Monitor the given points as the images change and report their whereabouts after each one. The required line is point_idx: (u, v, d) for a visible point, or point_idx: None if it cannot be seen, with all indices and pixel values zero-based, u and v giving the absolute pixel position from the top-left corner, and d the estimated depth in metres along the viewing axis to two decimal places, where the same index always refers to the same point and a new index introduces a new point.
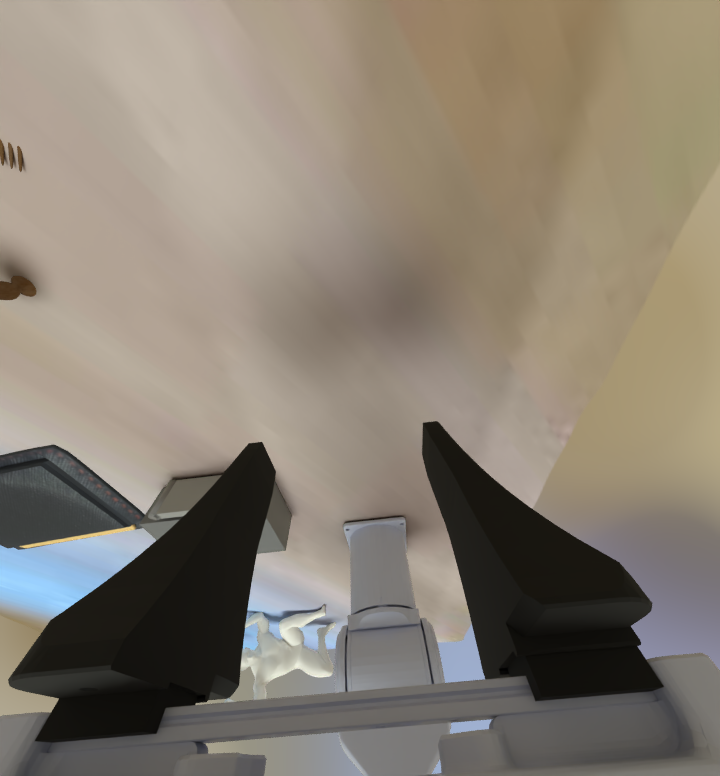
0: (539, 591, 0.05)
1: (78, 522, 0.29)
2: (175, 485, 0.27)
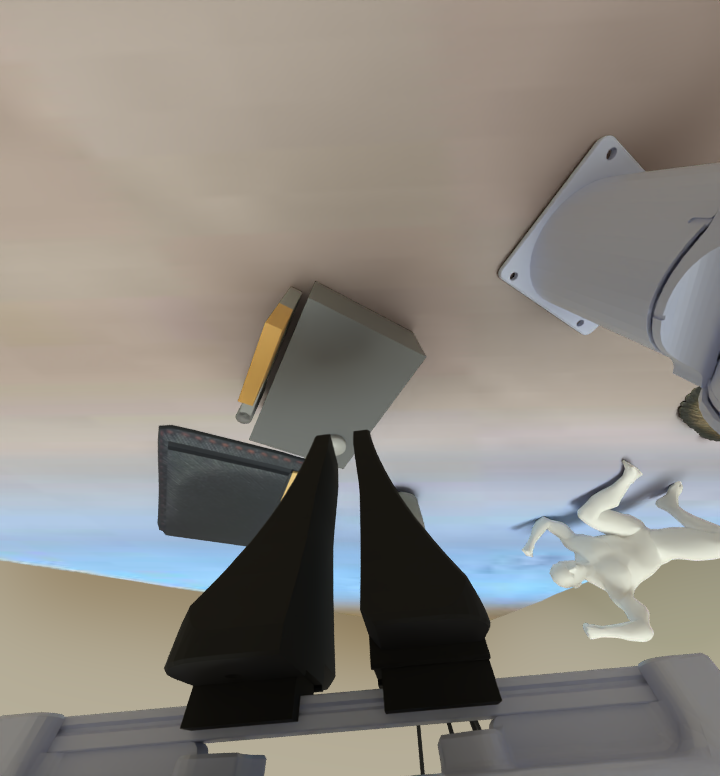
0: (376, 607, 0.05)
1: (255, 492, 0.28)
2: None
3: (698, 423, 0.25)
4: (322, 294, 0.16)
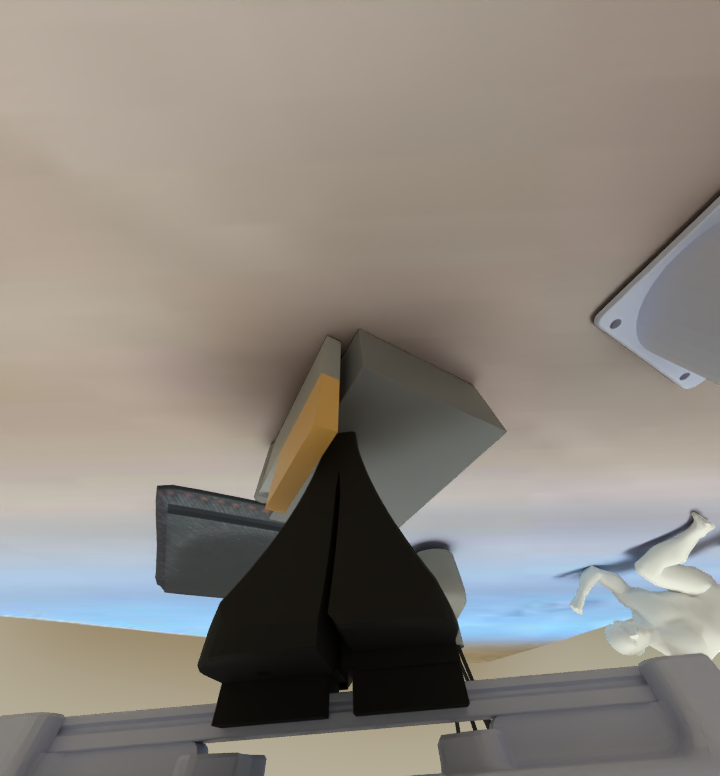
0: (343, 610, 0.05)
1: None
2: (272, 448, 0.17)
3: None
4: (373, 352, 0.12)
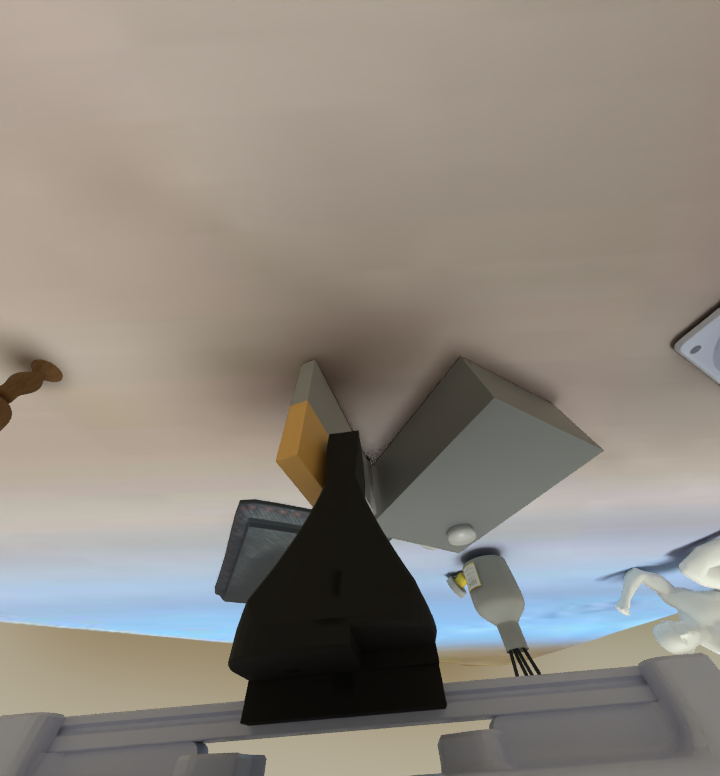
0: (320, 612, 0.05)
1: None
2: None
3: None
4: (486, 380, 0.13)
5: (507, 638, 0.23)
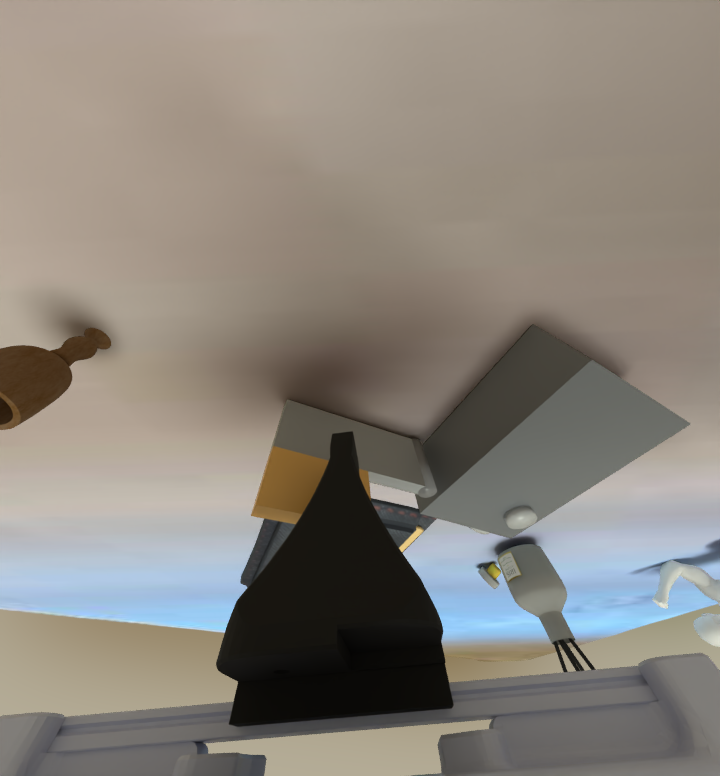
0: (326, 612, 0.05)
1: None
2: None
3: None
4: None
5: (552, 629, 0.22)
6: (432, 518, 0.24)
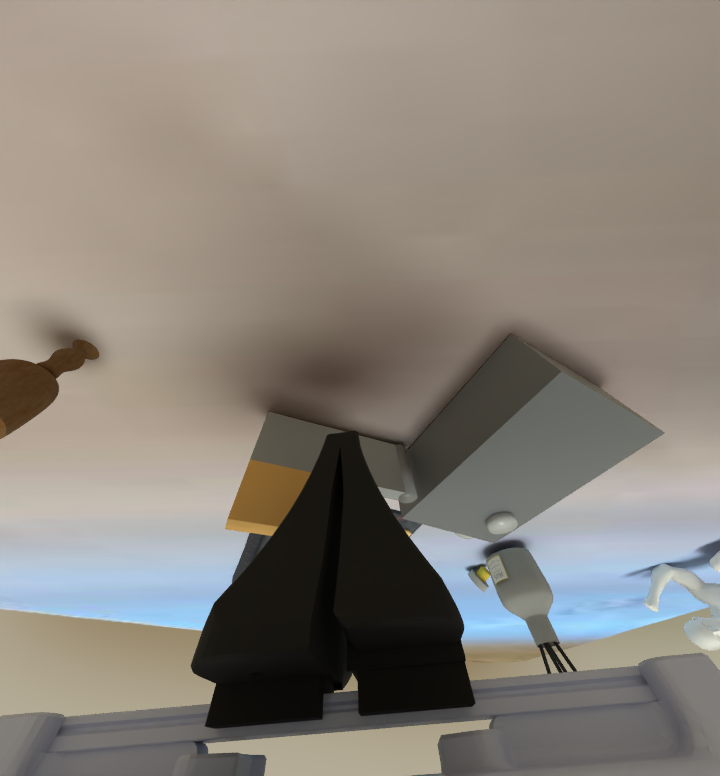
0: (349, 610, 0.05)
1: None
2: None
3: None
4: (544, 357, 0.13)
5: (537, 632, 0.23)
6: None
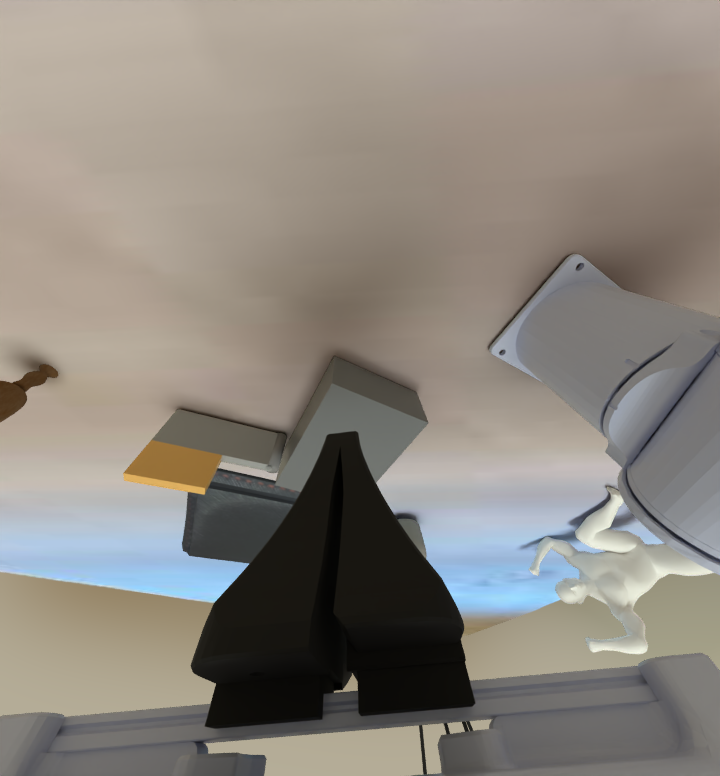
0: (348, 610, 0.05)
1: (273, 520, 0.31)
2: None
3: None
4: (341, 373, 0.19)
5: None
6: None
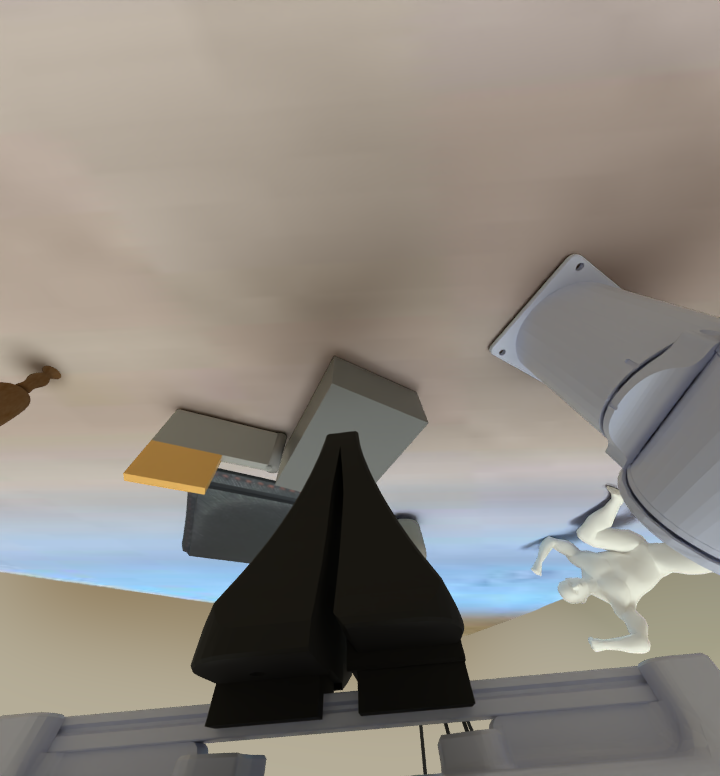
0: (348, 610, 0.05)
1: (273, 520, 0.31)
2: None
3: None
4: (341, 373, 0.19)
5: None
6: None
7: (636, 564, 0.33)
